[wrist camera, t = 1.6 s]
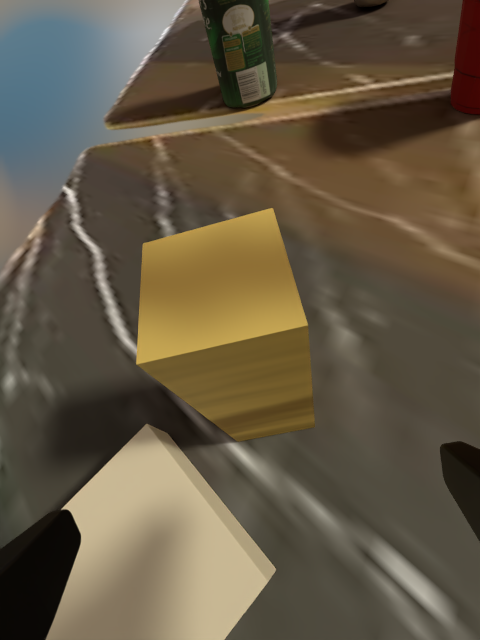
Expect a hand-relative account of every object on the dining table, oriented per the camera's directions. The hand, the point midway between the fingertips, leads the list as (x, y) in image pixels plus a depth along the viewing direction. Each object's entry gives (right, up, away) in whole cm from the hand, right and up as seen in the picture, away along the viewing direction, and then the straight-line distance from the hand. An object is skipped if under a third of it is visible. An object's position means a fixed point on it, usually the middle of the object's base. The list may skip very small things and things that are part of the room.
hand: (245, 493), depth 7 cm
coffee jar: (+1, +36, +36) cm, 51 cm away
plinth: (-5, -10, +10) cm, 15 cm away
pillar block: (+2, -1, +14) cm, 14 cm away
